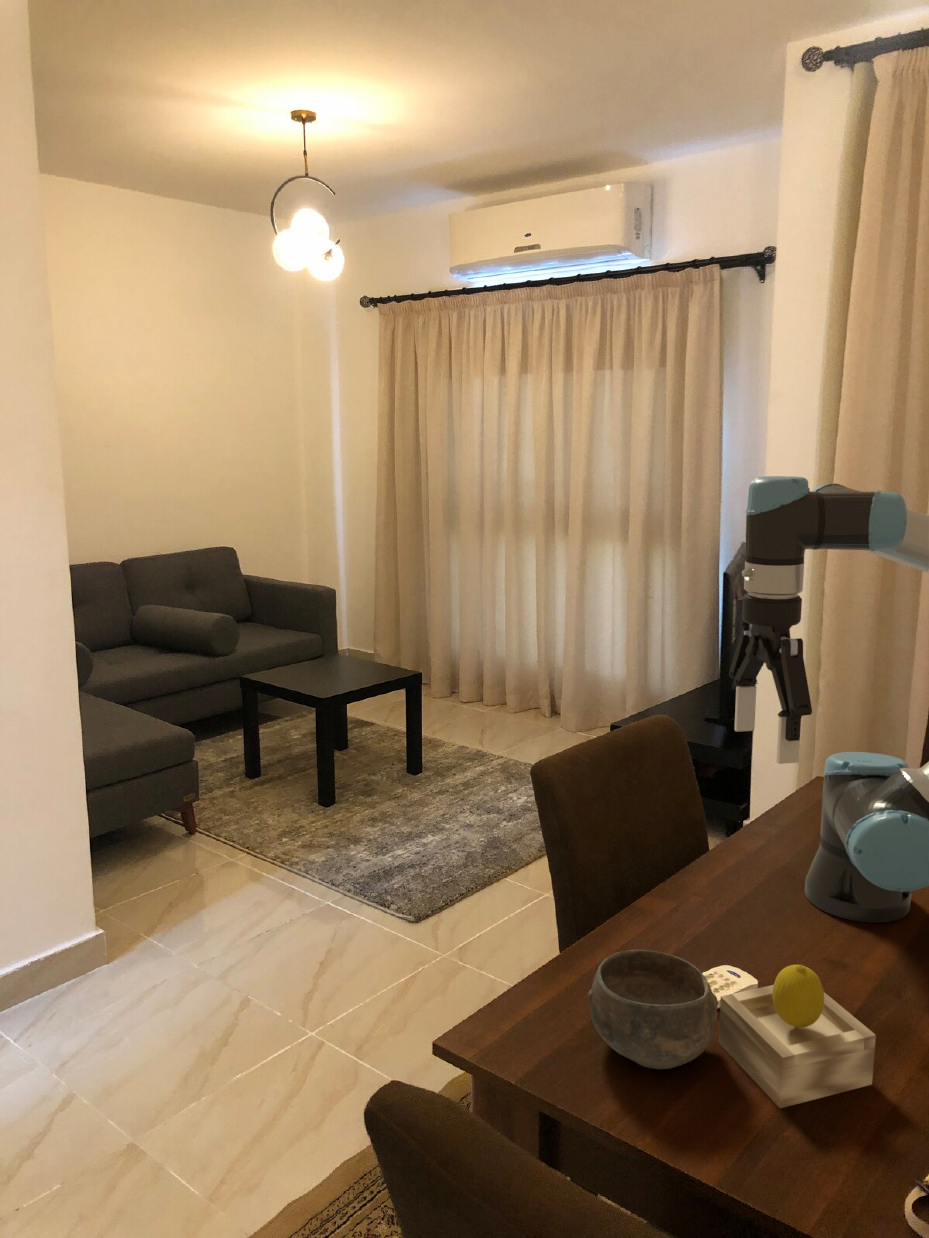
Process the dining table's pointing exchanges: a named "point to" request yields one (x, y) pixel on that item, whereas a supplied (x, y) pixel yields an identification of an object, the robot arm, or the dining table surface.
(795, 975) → the lemon
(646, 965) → the bowl
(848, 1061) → the birch box
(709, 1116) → the dining table surface
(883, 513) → the robot arm
